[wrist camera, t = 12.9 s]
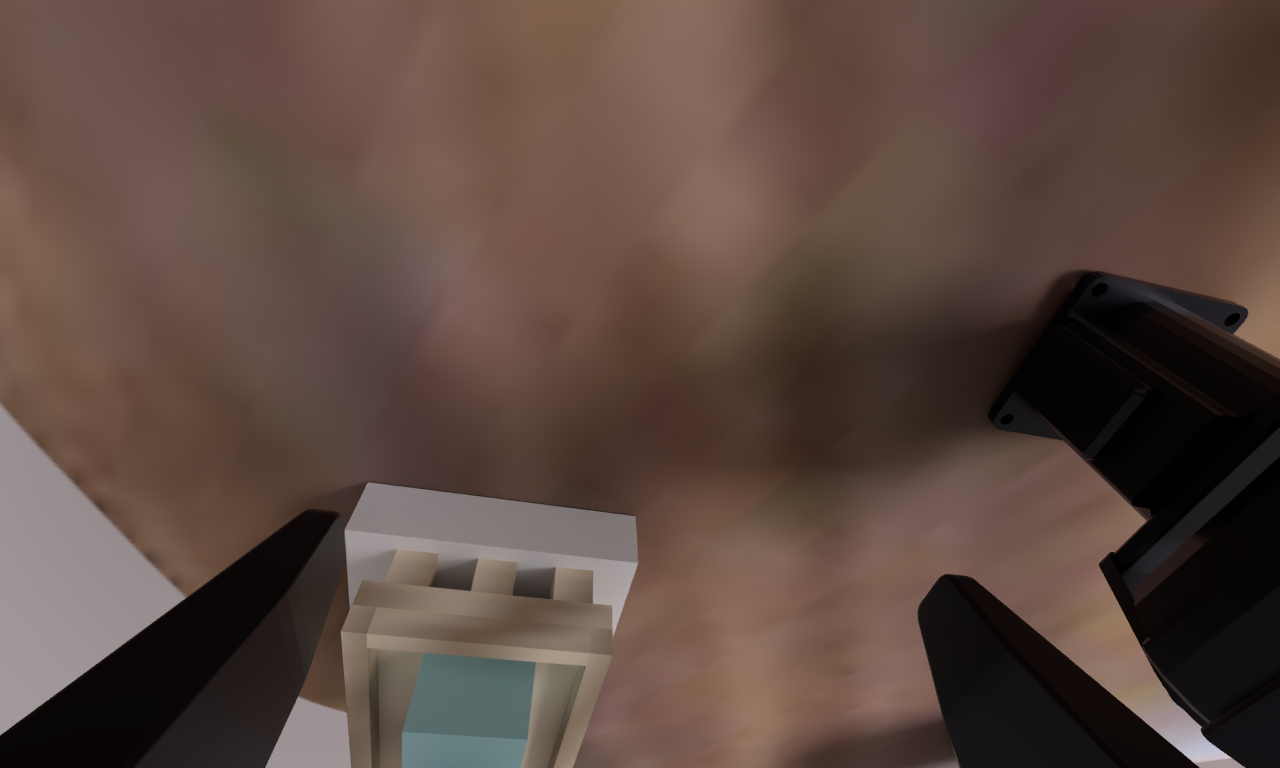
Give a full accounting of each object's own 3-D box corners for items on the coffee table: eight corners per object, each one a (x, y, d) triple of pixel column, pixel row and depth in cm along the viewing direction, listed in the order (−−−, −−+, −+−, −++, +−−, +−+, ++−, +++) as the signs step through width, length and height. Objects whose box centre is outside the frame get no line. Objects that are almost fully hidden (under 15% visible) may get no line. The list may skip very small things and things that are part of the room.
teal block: (536, 654, 22) (527, 739, 19) (526, 697, 23) (517, 780, 21) (426, 645, 21) (402, 732, 19) (423, 689, 23) (401, 774, 20)
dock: (635, 516, 25) (637, 563, 23) (577, 699, 33) (575, 746, 31) (367, 482, 23) (344, 529, 21) (374, 685, 31) (358, 734, 29)
